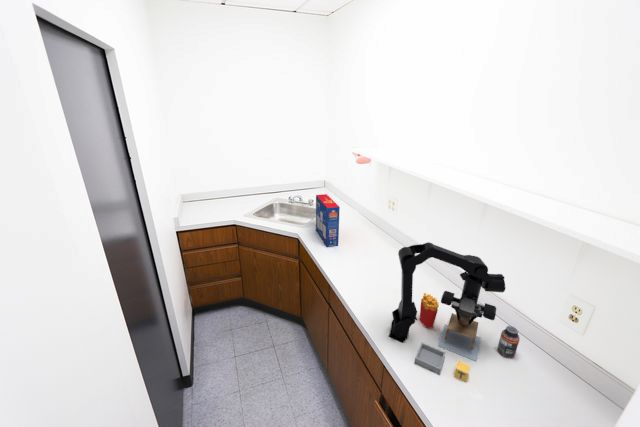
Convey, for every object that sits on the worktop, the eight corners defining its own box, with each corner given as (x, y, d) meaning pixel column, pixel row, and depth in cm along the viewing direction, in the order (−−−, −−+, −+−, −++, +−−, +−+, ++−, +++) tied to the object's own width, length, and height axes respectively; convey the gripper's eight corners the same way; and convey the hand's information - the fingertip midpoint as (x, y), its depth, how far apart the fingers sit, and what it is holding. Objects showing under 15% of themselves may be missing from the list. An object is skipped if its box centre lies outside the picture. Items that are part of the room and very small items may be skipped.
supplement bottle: (508, 346, 117) (515, 323, 113) (518, 358, 112) (525, 335, 108) (493, 346, 117) (500, 323, 113) (502, 358, 111) (509, 335, 107)
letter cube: (453, 377, 104) (455, 368, 103) (455, 368, 107) (457, 360, 106) (466, 382, 102) (468, 374, 101) (467, 373, 105) (469, 365, 104)
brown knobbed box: (444, 339, 117) (448, 319, 113) (449, 324, 125) (453, 305, 121) (472, 350, 112) (477, 329, 108) (475, 334, 120) (480, 314, 116)
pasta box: (338, 246, 197) (339, 206, 187) (326, 247, 195) (327, 207, 185) (326, 229, 222) (326, 194, 212) (315, 230, 220) (316, 195, 210)
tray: (414, 363, 109) (415, 358, 108) (420, 347, 116) (421, 342, 115) (439, 374, 105) (440, 369, 104) (444, 357, 112) (445, 352, 111)
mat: (437, 345, 117) (437, 345, 117) (444, 324, 128) (444, 324, 128) (476, 361, 110) (476, 360, 110) (480, 337, 121) (480, 337, 121)
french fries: (416, 316, 133) (420, 292, 128) (424, 315, 134) (428, 291, 129) (428, 331, 125) (433, 305, 120) (437, 329, 126) (442, 304, 121)
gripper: (441, 291, 109) (434, 325, 115) (498, 310, 100) (488, 345, 106) (447, 277, 118) (440, 309, 124) (500, 293, 109) (491, 326, 114)
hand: (463, 322), depth 117 cm, fingers closed on brown knobbed box, 4 cm apart
